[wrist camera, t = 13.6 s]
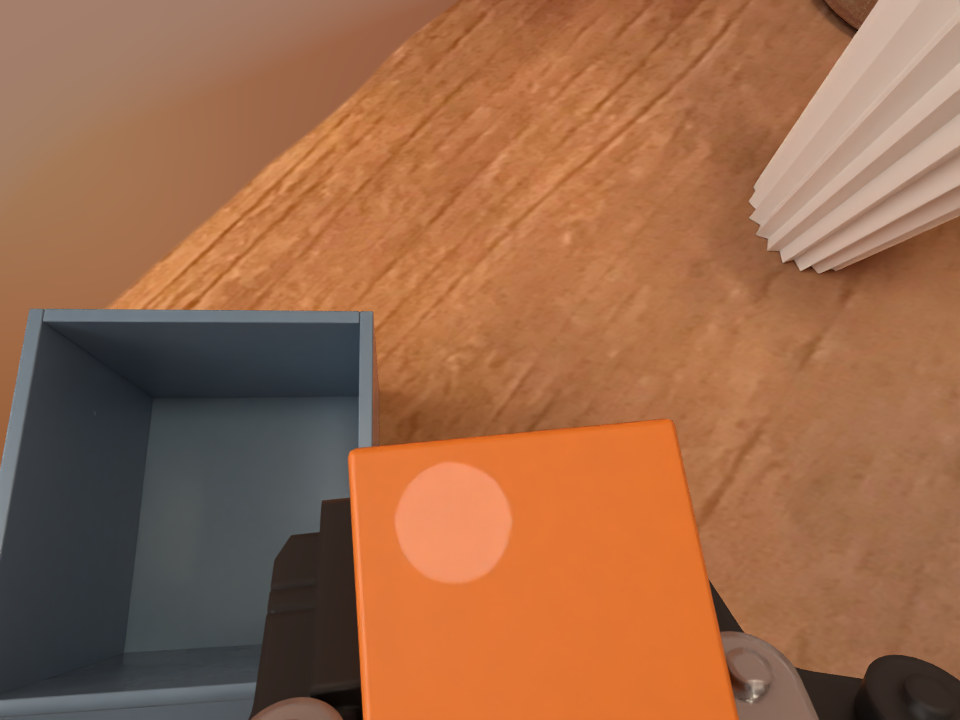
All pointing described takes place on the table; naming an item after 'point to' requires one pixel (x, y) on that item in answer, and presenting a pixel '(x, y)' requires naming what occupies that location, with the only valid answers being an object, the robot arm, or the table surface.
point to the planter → (852, 10)
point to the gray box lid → (160, 713)
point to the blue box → (165, 494)
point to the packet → (534, 579)
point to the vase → (871, 143)
